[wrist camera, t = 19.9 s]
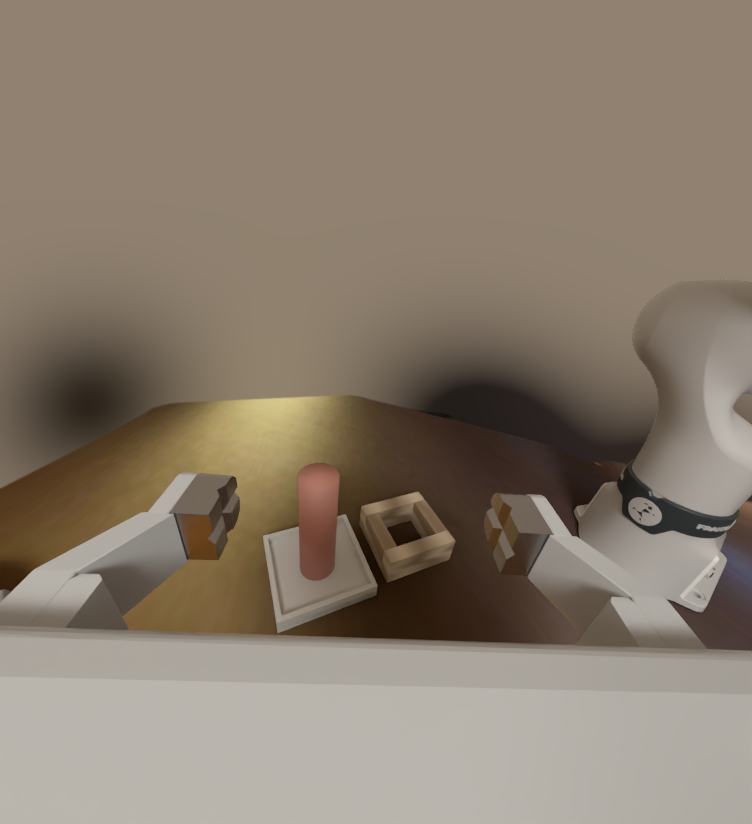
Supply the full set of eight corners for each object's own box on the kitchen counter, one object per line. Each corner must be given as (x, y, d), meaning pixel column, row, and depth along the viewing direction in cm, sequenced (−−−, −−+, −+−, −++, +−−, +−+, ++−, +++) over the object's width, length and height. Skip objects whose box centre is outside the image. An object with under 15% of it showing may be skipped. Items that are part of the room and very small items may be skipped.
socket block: (414, 509, 53) (418, 491, 51) (449, 559, 45) (455, 540, 43) (359, 524, 49) (361, 506, 47) (386, 582, 41) (390, 563, 39)
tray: (344, 523, 49) (345, 514, 48) (376, 595, 40) (377, 585, 39) (263, 545, 44) (262, 535, 43) (277, 633, 35) (276, 623, 34)
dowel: (329, 545, 44) (332, 460, 37) (338, 574, 41) (345, 485, 33) (296, 555, 42) (293, 467, 35) (304, 585, 39) (302, 494, 32)
